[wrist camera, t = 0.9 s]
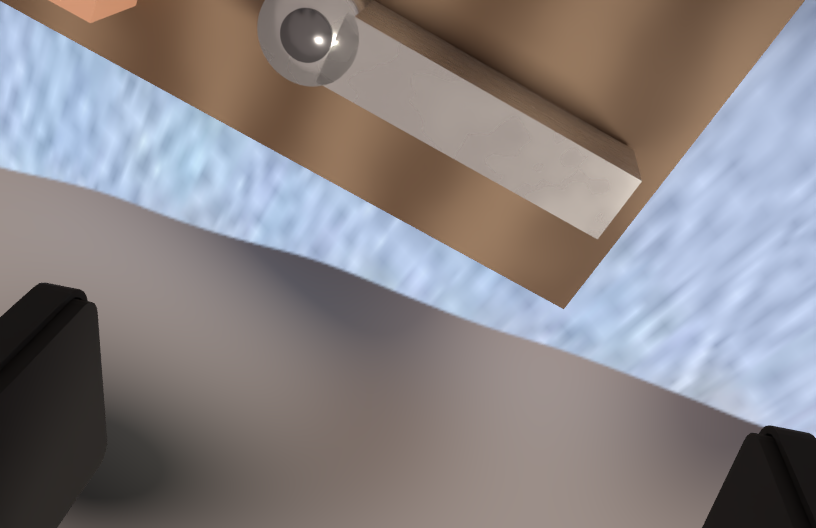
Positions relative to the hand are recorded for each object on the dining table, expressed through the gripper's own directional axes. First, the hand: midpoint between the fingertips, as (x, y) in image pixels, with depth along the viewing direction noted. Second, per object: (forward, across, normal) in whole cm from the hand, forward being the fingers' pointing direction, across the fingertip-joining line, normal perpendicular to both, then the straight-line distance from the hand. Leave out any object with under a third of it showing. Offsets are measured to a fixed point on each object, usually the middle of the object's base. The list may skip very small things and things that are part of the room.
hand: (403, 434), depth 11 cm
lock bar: (+24, +1, +2) cm, 24 cm away
